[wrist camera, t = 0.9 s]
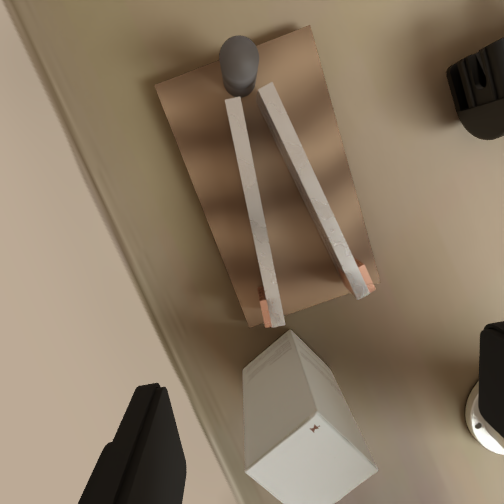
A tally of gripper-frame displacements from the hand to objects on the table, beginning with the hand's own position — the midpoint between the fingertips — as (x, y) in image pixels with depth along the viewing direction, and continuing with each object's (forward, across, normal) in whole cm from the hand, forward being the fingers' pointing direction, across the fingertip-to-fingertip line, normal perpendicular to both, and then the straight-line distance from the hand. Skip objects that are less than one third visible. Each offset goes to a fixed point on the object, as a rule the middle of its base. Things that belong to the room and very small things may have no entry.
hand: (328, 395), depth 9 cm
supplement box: (+23, -1, +15) cm, 28 cm away
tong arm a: (+21, -5, -4) cm, 22 cm away
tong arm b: (+21, 0, -2) cm, 21 cm away
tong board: (+23, -2, -4) cm, 24 cm away
